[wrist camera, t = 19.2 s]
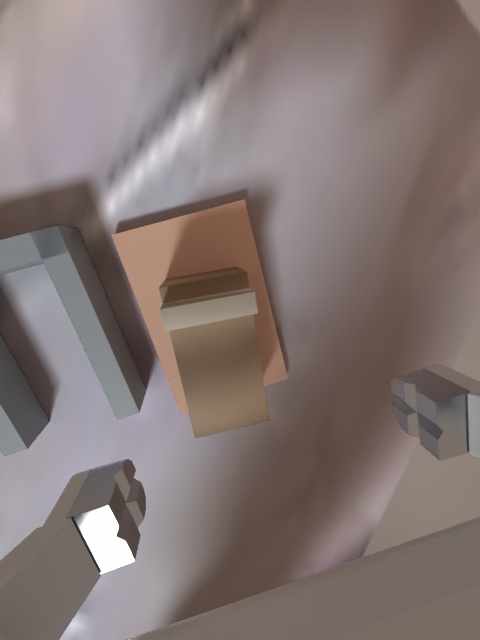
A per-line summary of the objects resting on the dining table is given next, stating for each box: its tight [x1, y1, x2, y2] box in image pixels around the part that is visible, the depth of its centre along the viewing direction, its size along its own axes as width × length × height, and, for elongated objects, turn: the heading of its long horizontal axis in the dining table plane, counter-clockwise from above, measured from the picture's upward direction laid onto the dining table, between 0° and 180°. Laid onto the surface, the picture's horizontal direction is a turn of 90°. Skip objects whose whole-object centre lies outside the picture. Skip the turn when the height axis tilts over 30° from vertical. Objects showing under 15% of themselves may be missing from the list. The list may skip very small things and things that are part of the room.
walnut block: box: [159, 267, 269, 438], centre depth 18 cm, size 10×5×6 cm, turn 9°
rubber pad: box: [111, 199, 288, 414], centre depth 21 cm, size 14×9×1 cm, turn 15°
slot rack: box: [0, 225, 146, 456], centre depth 18 cm, size 12×9×3 cm
